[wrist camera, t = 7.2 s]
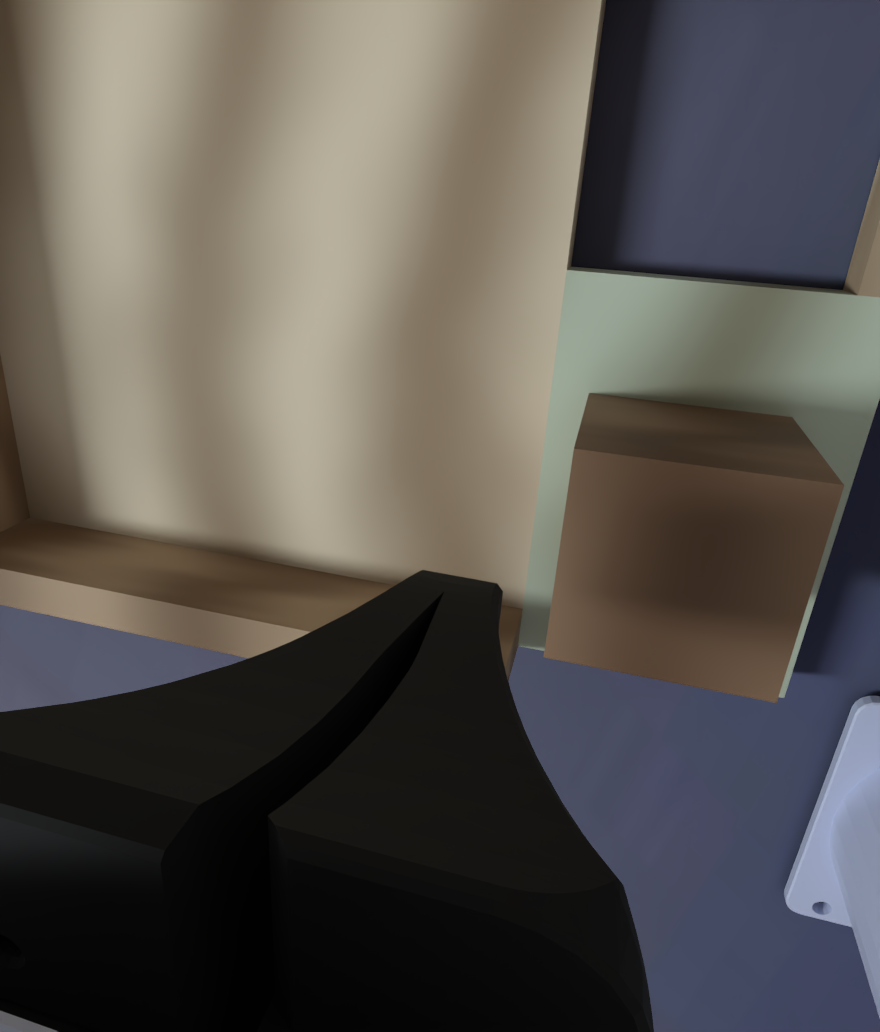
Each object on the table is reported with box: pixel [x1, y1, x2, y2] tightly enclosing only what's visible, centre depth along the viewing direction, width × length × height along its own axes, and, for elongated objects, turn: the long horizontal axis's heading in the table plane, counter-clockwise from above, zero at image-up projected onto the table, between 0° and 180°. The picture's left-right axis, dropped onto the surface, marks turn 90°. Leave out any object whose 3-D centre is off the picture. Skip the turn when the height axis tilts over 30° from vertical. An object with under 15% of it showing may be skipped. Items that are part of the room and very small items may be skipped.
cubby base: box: [0, 0, 880, 698], centre depth 17 cm, size 24×18×4 cm
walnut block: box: [544, 393, 844, 703], centre depth 15 cm, size 4×4×4 cm
